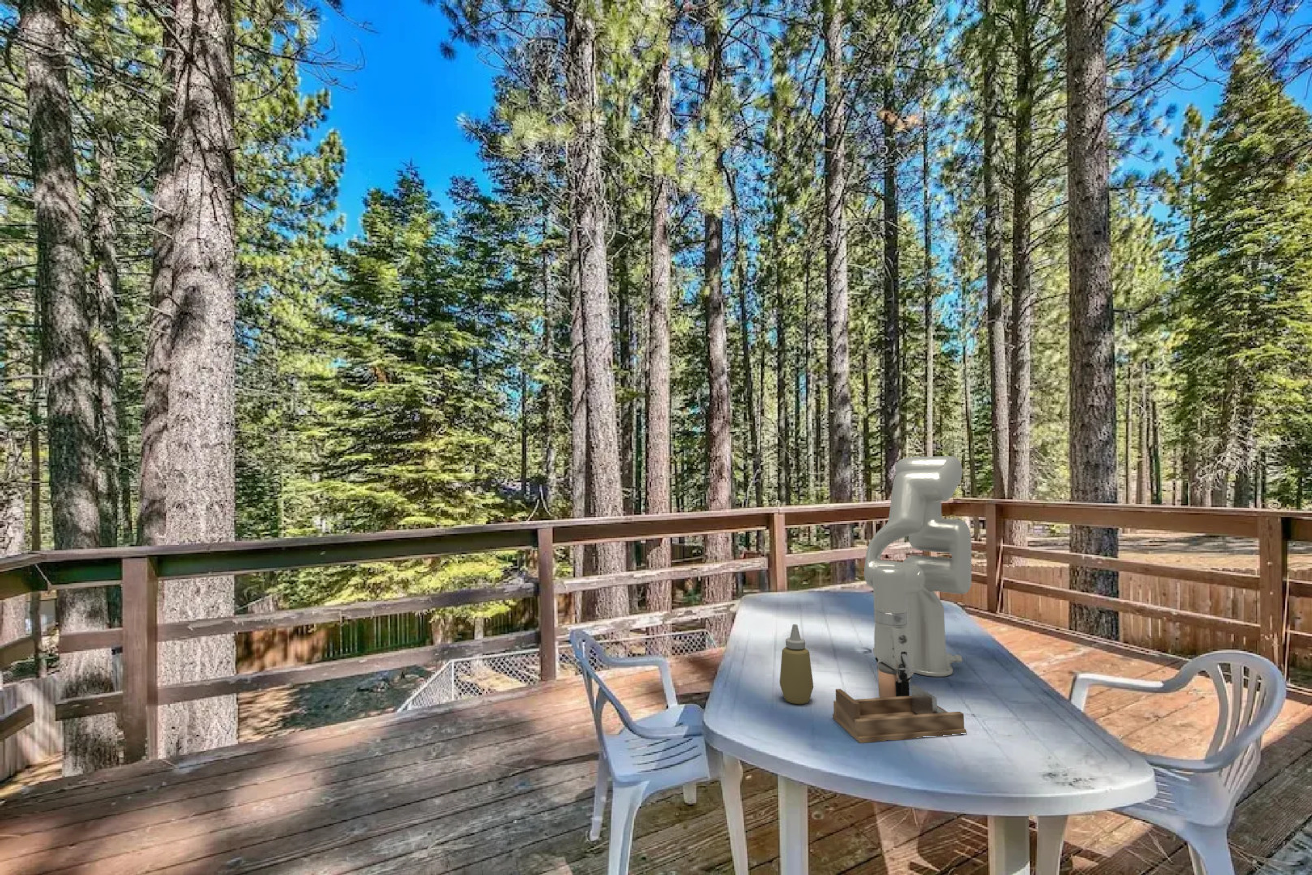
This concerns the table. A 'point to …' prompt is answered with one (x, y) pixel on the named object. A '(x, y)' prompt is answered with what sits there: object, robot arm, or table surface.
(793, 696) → the squeeze bottle
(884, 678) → the jar
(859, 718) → the wooden tray
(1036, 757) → the table surface
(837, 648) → the table surface
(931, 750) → the table surface
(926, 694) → the plate
